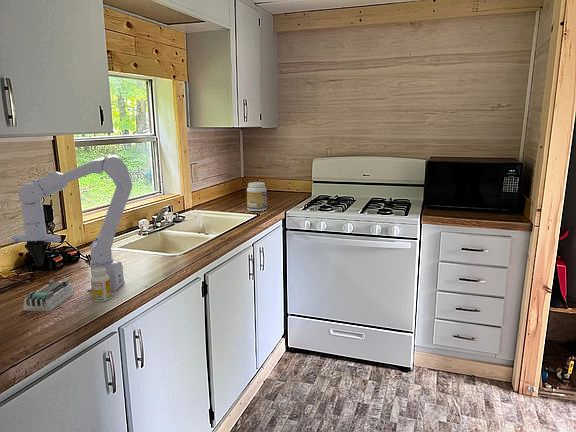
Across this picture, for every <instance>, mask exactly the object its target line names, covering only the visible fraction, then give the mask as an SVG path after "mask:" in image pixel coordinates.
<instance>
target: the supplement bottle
mask: <svg viewBox="0 0 576 432" xmlns="http://www.w3.org/2000/svg"><path fill="white" fill-rule="evenodd" d="M106 272H107V271H106V268H103V267H100V268H95V269H93V270H92V274H93V275H94V276H91V277H90V287H92V290H91V295H92V301H93V302H95V303H102V302H107V301H109V300H110V299H112V291H111V288H110V278H109V275H107V274H106Z"/></svg>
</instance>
